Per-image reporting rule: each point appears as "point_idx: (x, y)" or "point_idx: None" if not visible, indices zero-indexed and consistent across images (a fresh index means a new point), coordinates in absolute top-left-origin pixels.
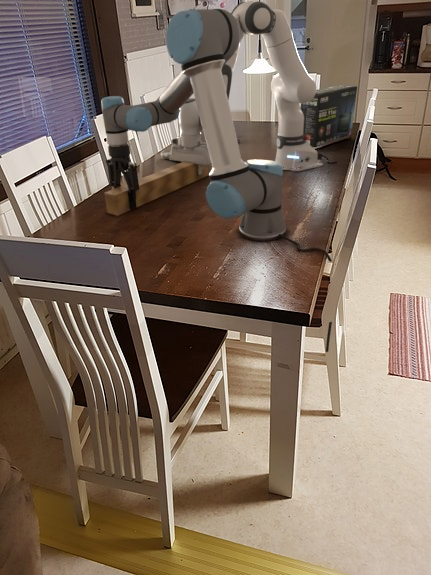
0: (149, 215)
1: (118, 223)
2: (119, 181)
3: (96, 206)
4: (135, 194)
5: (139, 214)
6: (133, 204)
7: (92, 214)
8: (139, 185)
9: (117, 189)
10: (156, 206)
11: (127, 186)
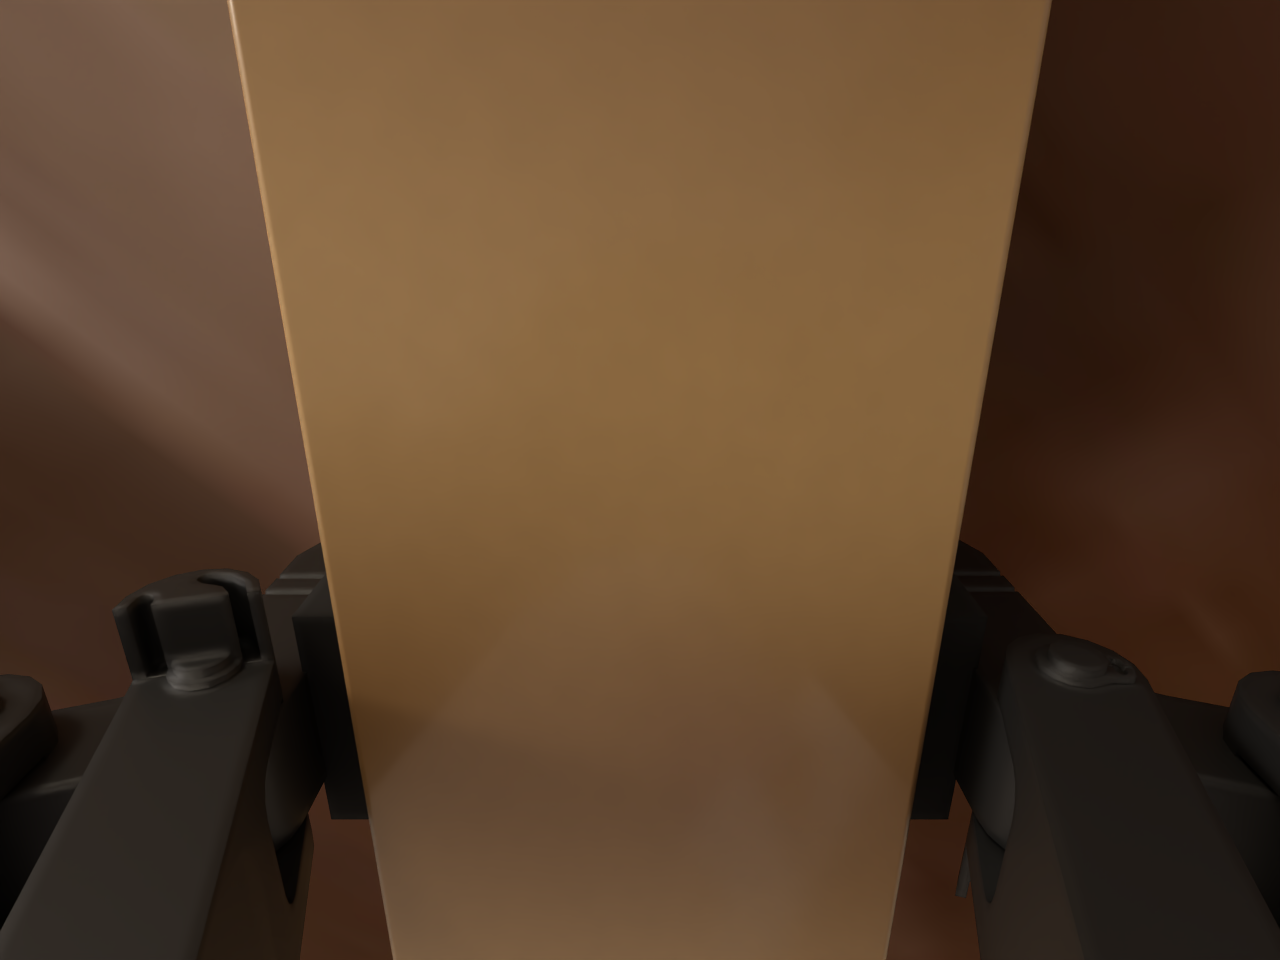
0: (1258, 534)
1: (955, 930)
2: (246, 904)
3: (110, 697)
4: (1034, 624)
5: (1054, 587)
6: None
7: (377, 906)
8: (1002, 251)
9: (535, 951)
10: (1167, 85)
11: (600, 620)
